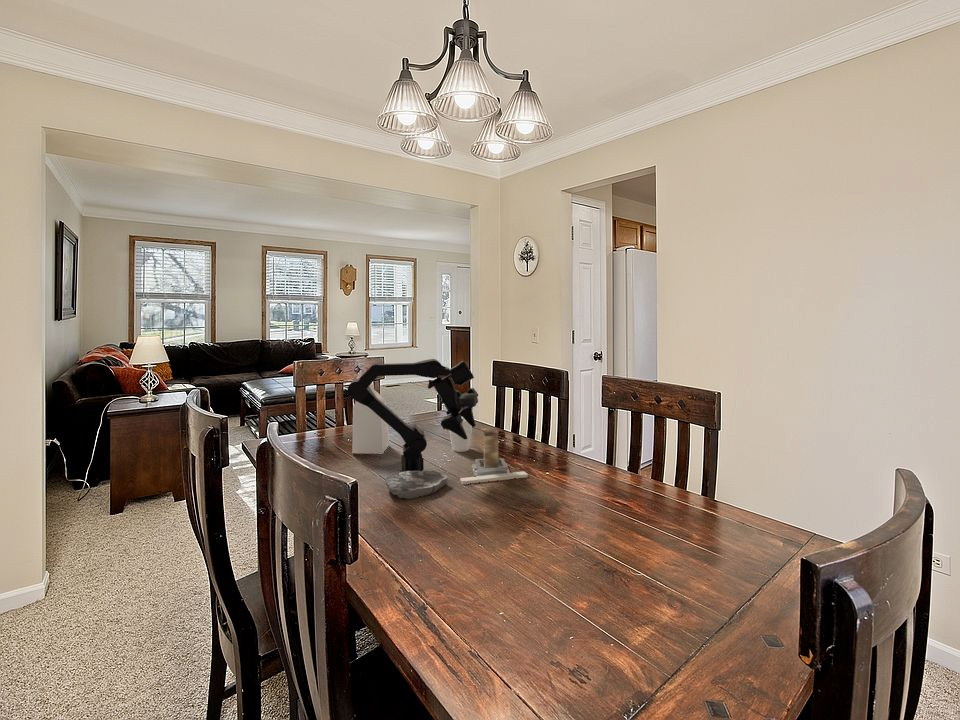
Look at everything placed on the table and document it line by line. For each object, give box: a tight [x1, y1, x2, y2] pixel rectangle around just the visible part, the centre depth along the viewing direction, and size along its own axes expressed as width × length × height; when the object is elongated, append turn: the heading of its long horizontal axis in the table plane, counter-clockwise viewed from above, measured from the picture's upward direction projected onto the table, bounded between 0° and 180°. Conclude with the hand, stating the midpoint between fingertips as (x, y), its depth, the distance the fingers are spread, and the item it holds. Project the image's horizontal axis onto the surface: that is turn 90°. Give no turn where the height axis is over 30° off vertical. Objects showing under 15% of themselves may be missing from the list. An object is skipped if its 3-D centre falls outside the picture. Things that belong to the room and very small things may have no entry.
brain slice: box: [384, 470, 449, 500], centre depth 149 cm, size 20×17×3 cm
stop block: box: [482, 428, 499, 467], centre depth 165 cm, size 5×5×13 cm
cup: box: [449, 416, 473, 453], centre depth 190 cm, size 9×9×12 cm
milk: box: [351, 382, 390, 455], centre depth 189 cm, size 12×12×26 cm
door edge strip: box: [459, 471, 529, 485], centre depth 157 cm, size 22×3×1 cm, turn 107°
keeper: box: [471, 457, 511, 477], centre depth 166 cm, size 12×11×3 cm
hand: (470, 432), depth 165 cm, fingers open, 9 cm apart
